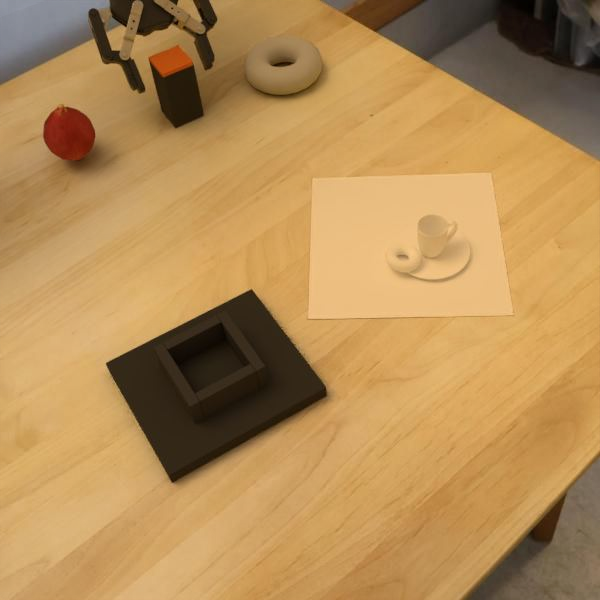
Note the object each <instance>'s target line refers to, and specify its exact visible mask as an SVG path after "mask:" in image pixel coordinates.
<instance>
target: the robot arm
mask: <svg viewBox="0 0 600 600" xmlns="http://www.w3.org/2000/svg"><path fill="white" fill-rule="evenodd" d="M192 2H193V4H194V7H195V8H196V11H197V12H198V15H199V17H200V19H201V21H198V20H197V19H195V18H194V17H193V16H191V14H190V13H189V12H187V11H186V10H184V9H183V8H182V7H181V6H179V5H178V3H179V0H109V6H107V7H104V8H101V9H97V8H93V7H92V8H90V9H89V10H88V14H87V22H88V24H89V27H90V31H91V33H92V35H93V39H94V42H95V45H96V47H97V50H98V53H99V56H100V59H101V62H102V63H103V64H104V65H111V64H113V65H115V64H116V65H119V66H120V67H121V69H122V71H123V74H124V76H125V78H126V81H127V83H128V86H129V88H130V89H131V90H132V91H137V93H138V95H140V94H144V93H146V85H145V83H144V81H143V79H142V76H141V74H140V71H139V67H138V66H137V64H136V61H135V58H132V57H131V55H132V51H133V46H134V43H135V40H136V35H137V36H141V37H147V36H150V35H151V34H153V33H154V32H158V31H159V32H160V31H165V30H167V29H168V28H169V27H170V26H171V25H172V26H174V27H175V28H177V29H178V30H180V31H183V32H185V33H187V34H188V35H189V36H191V37H192V38H194V40H193V44H194V47H195V49H196V52H197V54H198V57H199V60H200V62H201V64H202V67H203V69H204V71H209V70H211V69H213V67H214V62H215V60H216V55H215V53H214V49H213V48H212V45H211V42H210V40H209V37H208V33H209V31H211V30H212V29H213V28H214V27H215V25H216V24H217V22H218V16H217V14H216V12H215V9H214V8H213V5H212V3H211V1H210V0H192ZM111 18H112V19H113V20H115V21H116V22H117V23H119V24H120V25H122V26H123V27H125V32H124V36H123V39H122V43H121V47H120V50H112V45H111V43H110V41H109V38H108V34H107V32H106V30H107V29H108V28H109V23H110V21H109V19H111Z"/></svg>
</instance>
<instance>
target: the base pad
mask: <svg viewBox="0 0 600 600" xmlns="http://www.w3.org/2000/svg"><path fill="white" fill-rule="evenodd" d="M105 365H106V368H107V370H108V372H109V374H110V376H111V377H112V379H113V381H114V383H115V384H116V386H117V388H118V390H119V391H120V393H121V395H122V397H123V399H124V400H125V402H126V404H127V406H128V408H129V409H130V411H131V413H132V415H133V416H134V418H135V420H136V421H137V423H138V425H139V427H140V429H141V431H142V432H143V434H144V437H146V439H147V441H148V443H149V445H150V447H151V448H152V450H153V452H154V454H155V456H156V458H157V459H158V461H159V462H160V464H161V466H162V468H163V470H164V472H165V473H166V475H167V476H168V479H169V480H170V482H171V483H174V482H177V481H178V480H179V479H181V478H183V477H185V476H187V475H188V474H190V473H192V472H194V471H196V470H198V469H199V468H201V467H203V466H204V465H206V464H208V463H210V462H212V461H213V460H215V459H217V458H219V457H221V456H222V455H224V454H226V453H228V452H230V451H231V450H233V449H235V448H237V447H238V446H240V445H242V444H244V443H246V442H248V441H249V440H251V439H252V438H255V437H256V436H258V435H260V434H261V433H264V432H265V431H267V430H268V429H270V428H272V427H274V426H276V425H278V424H279V423H281V422H283V421H284V420H286V419H288V418H290V417H292V416H293V415H295V414H297V413H299V412H301V411H303V410H305V409H306V408H308V407H309V406H311V405H314V404H315V403H317V402H318V401H320V400H322V399H324V398H326V397H327V396H328V393H327V386H326V384H324V382H323V380H322V379H320V377H319V376H318V374H317V373H316V372H315V370H314V368H312V366H311V365H310V364H309V362H308V361H307V359H306V358H305V357H304V356H303V354H302V353H301V352H300V350H299V349H298V348H297V347H296V345H295V344H294V343H293V341H292V340H291V339H290V337H289V336H288V334H287V333H286V332H285V331H284V329H283V328H282V326H280V324H279V323H278V321H277V320H276V319H275V317H274V316H273V315H272V313H271V312H270V311H269V310H268V308H267V306H266V305H265V304H264V303H263V301H262V299H260V298H259V296H258V295H257V294H256V293H255V291H254V290H253V289H249V290H247V291H245V292H243V293H241V294H239V295H237V296H234V297H233V298H231V299H228V300H227V301H225V302H223V303H221V304H219V305H217V306H215V307H213V308H211V309H209V310H208V311H207V310H206V311H205V312H203V313H202V314H200V315H198V316H196V317H194V318H191V319H189V320H187V321H186V322H184V323H182V324H179V325H178V326H176V327H174V328H172V329H170V330H167V331H166V332H165V333H162V334H159V335H158V336H156V337H154V338H152V339H150V340H148V341H146V342H144V343H142V344H140V345H138V346H136V347H134V348H132V349H131V350H129V351H126V352H124V353H122V354H120V355H118V356H116V357H115V358H112V359H110V360H108V361H106V362H105Z"/></svg>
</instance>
